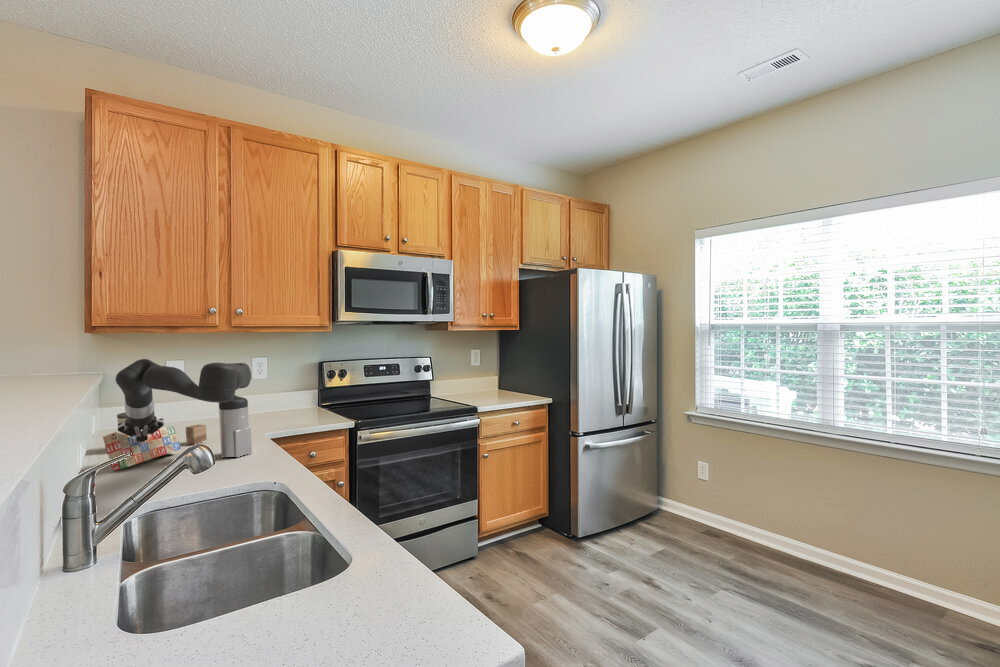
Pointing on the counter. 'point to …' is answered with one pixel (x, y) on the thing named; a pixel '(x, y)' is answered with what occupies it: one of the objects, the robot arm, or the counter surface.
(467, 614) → the counter surface
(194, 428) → the walnut block
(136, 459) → the stack of blocks
